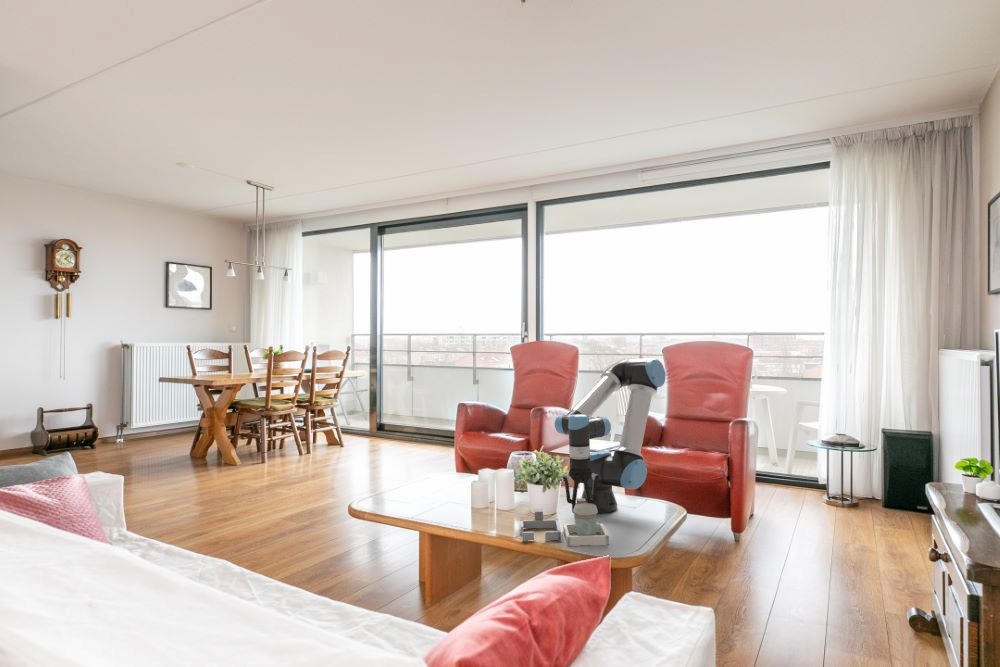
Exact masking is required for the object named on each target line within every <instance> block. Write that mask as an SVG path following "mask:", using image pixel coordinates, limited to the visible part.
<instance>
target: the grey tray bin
mask: <svg viewBox="0 0 1000 667" xmlns="http://www.w3.org/2000/svg"><path fill="white" fill-rule="evenodd" d="M576 503H577V504H580V503H586V500H585V498H576ZM562 526H563V535H564V538H565V543H566V542H567V543H566V546H567V547H581V546H580V545H591V546H610V536H609V534H608V531H607V530H606V528H605V526H604V524H603V522H596V533H600V534H599V535H596V534H595V535H594V536H577V535H570V534H572V533H571V532H577V531H576V524H575V523H563V525H562ZM571 545H572V546H571Z"/></svg>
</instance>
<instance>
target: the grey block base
mask: <svg viewBox="0 0 1000 667" xmlns="http://www.w3.org/2000/svg"><path fill="white" fill-rule="evenodd" d="M533 511H534V519H525V520H522V519H520V521H519V522H520V535H521V534H522V535H521V537H522V542H529V541H528V540H534V541H535V532H534V531H524V530H525V529H523V528H551V529H555V530H548V531H547V530H546V531H544V533H545V534H544V535H545V539H546V540H562V539H563V538H562V530H561V526H560V522H559V519H544V510H543V508H534V510H533ZM546 540H545V541H546Z"/></svg>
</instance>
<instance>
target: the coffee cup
mask: <svg viewBox="0 0 1000 667" xmlns="http://www.w3.org/2000/svg"><path fill="white" fill-rule="evenodd" d="M597 510H598V509H597V507H596V505H594V504H590V503H580V504H576V505H575V506H574V509H573V512H574V513H573V512H572V513H573V515H574V522H575V523H574V524H576V531H577V533H576V536H594V535H596V533H597V532H596V523H597V518H598V514H599V513H598V511H597Z"/></svg>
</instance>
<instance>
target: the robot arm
mask: <svg viewBox="0 0 1000 667" xmlns="http://www.w3.org/2000/svg"><path fill="white" fill-rule="evenodd" d="M665 370H666V369H665V367H664V365H663V362H662V361H661V360H659V359H657V358H649V357H647V358H624V359H621V360H618V361H617V362H615V363H613V364H611V366H609V367H608V368H607V369H605V371H604V372H603V373H601V375H600V379H599V380H598V381H597V383H595V384H594V385H593V387H592V388H590V389H589V391H588V392H587V393H586V394H585V395H584V396H583V397H582V398H581V399H580V400H579V401H578V402H577V404H576V405H574V407H572V408H571V410H569V411H568V413H567V414H560V415H557V417H556V418H555V421H554V428H555V430H556V432H557V434H560V435H561V434H562V435H566V436H568V441H569V442H568V443H569V444H568V447H569V448H568V449H569V450H568V451H569V457H570V458H569V471H568V473H567V474H562V475H561V476H562V479H563V481H564V487H565V489H564V490H565V495H566V502H567V503H568V504H570V505H571V511H572V513H573V514H574V512H573V509H574V506H575V505H576V504H577V495H578V487H579V484H583V491H582V494H581V498H585V500H586V503H590V504H594V505H596V507H597V509H598V510H597V511H598V513H597V514H606V512H608V513H613V512H615V511H616V509H617V510H618V502H617V499H616V496H615V493H614V491H613V487H618V488H622V489H624V490H625V489H626V490H629V489H631V490H637V489H639V488H640V487H641V486H643V484H644V483H645V481H646V479H647V475H648V469H647V468H648V465H647V464H646V462H645V461H644V456H643V454H642V453H641V451H642V446H643V442H644V436H645V432H646V426H647V422H648V417H649V414H650V407H651V404H652V403H651V402H652V398H653V396H654V395H657V392H658V388H661V387H663V385H664V384H665V383H666V371H665ZM623 387H628V390H629V391H630V395H629V399H628V405H627V409H626V414H625V418H624V423H623V427H622V428H623V429H622V432H621V437H620V441H619V446H618V447H617V448H616V449H614V452H613V455H612V452H611V451H610V450H600V451H599V450H598V451H592V452H591V449H590V447H591V445H590V443H591V442H590V440H592V439H596V438H597V439H598V438H602V437H606V436H608V435H609V434H610V432H611V431H612V424H611V422H610V420H609V419H608V418H607V417H605V416H596V417H594V416H593V415H594V414H595V413H596V412H597V411H598V410H599V409H600V407H601V406H602V405H603V404H604V403H605V402H606V401H607V400H608V398H609V397H611V395H612V394H614V393H615V392H618V391H620V389H621V388H623ZM592 416H593V417H592ZM570 478H571V479H572V481H573V487H572V488H573V489H572V497H571V491H570V485H569V480H570ZM612 511H613V512H612Z"/></svg>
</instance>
